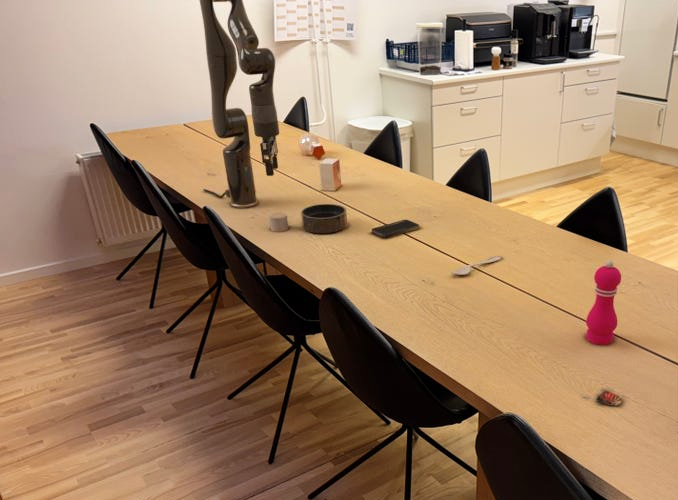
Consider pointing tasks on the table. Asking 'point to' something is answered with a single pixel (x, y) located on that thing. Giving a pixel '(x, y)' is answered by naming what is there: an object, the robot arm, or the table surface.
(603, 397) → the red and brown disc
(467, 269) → the spoon
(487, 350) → the table surface
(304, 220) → the bowl
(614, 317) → the pepper mill
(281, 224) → the grey short cylinder
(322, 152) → the potion bottle
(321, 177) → the small box
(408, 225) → the phone
